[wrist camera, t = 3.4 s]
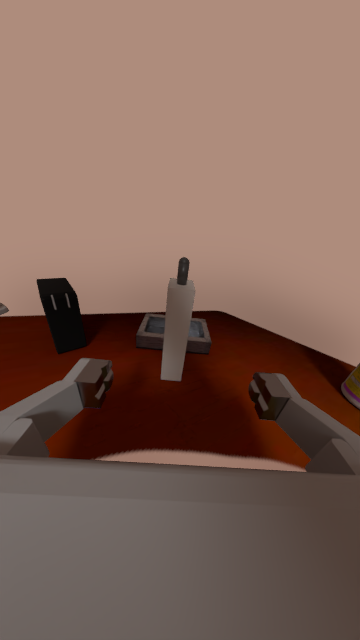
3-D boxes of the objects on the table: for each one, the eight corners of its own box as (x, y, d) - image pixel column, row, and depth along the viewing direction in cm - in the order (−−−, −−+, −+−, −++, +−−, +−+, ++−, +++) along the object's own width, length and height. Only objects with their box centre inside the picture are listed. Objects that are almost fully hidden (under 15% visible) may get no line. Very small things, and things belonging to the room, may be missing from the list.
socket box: (208, 354, 30) (211, 342, 29) (136, 347, 29) (136, 335, 28) (202, 329, 38) (204, 319, 37) (145, 324, 37) (146, 313, 36)
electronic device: (75, 323, 34) (65, 276, 30) (87, 347, 28) (76, 293, 23) (51, 327, 32) (35, 277, 27) (58, 356, 25) (39, 297, 21)
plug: (180, 381, 24) (200, 261, 16) (160, 379, 24) (170, 258, 16) (180, 360, 28) (196, 256, 20) (163, 358, 28) (172, 253, 20)
